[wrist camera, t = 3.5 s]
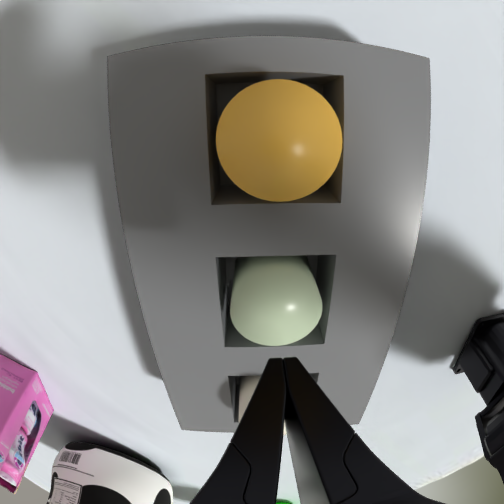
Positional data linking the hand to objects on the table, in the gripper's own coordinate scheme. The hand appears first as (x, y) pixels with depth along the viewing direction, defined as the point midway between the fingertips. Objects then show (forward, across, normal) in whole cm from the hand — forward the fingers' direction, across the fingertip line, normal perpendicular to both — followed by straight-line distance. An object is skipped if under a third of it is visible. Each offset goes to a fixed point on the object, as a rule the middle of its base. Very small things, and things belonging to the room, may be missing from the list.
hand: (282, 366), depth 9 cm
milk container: (+9, +21, +33) cm, 40 cm away
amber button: (+8, 0, -6) cm, 10 cm away
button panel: (+9, 0, +1) cm, 9 cm away
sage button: (+9, 0, +1) cm, 9 cm away
